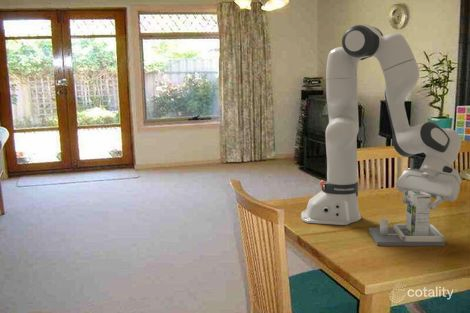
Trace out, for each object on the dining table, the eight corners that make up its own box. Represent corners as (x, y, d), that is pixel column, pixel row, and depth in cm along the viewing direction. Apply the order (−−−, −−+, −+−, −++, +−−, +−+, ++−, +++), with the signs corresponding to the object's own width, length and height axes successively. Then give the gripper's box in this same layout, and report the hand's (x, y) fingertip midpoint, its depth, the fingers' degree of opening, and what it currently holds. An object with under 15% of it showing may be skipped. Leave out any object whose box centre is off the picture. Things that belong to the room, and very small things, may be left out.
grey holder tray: (377, 245, 150) (377, 227, 149) (368, 230, 164) (369, 213, 163) (444, 245, 148) (445, 227, 147) (430, 230, 162) (431, 213, 161)
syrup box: (405, 231, 158) (406, 190, 156) (422, 231, 158) (424, 189, 156) (411, 237, 153) (413, 194, 150) (429, 237, 153) (431, 194, 150)
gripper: (402, 162, 164) (385, 194, 159) (461, 170, 148) (444, 206, 144) (408, 172, 167) (392, 204, 163) (466, 181, 152) (450, 217, 147)
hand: (417, 205), depth 153 cm, fingers open, 8 cm apart
